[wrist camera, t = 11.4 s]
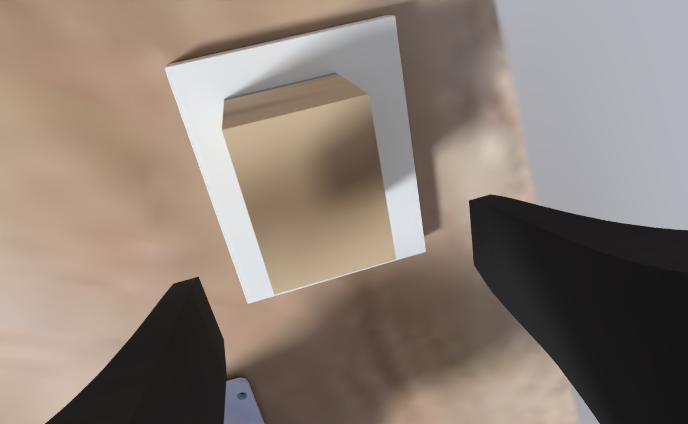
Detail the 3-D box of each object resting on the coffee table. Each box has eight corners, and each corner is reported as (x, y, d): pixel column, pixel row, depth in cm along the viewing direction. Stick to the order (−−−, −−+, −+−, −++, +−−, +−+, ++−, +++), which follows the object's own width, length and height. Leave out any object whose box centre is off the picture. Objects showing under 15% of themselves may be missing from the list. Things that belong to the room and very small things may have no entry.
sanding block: (361, 205, 21) (396, 259, 17) (264, 231, 20) (274, 294, 16) (335, 72, 18) (368, 94, 14) (223, 99, 18) (221, 129, 13)
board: (417, 240, 24) (425, 251, 23) (247, 289, 23) (247, 303, 22) (385, 15, 19) (394, 15, 18) (168, 63, 18) (164, 67, 17)
